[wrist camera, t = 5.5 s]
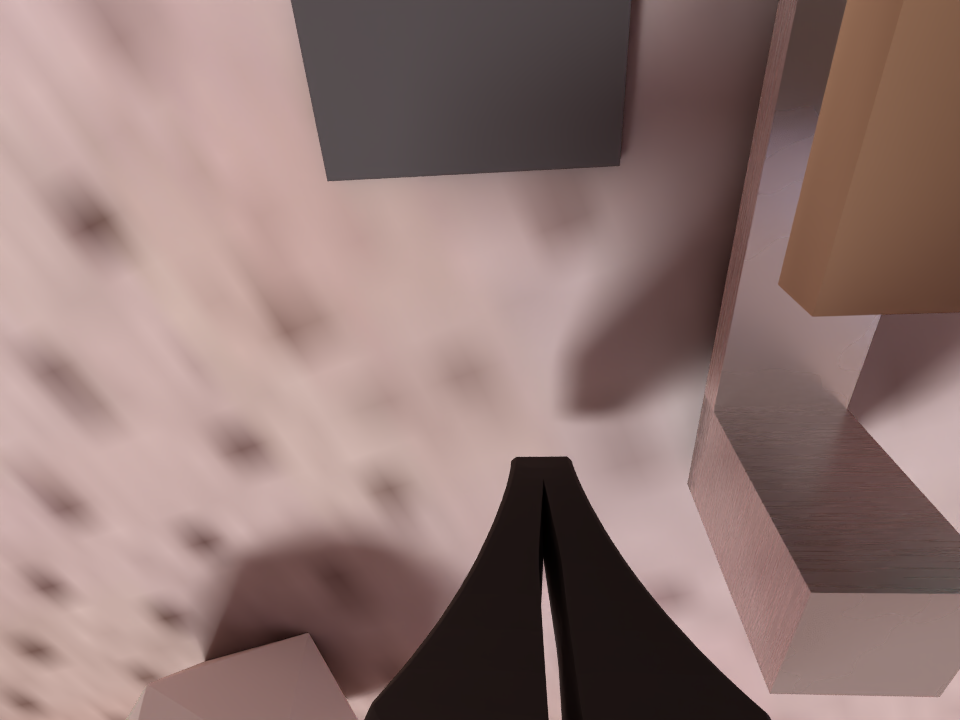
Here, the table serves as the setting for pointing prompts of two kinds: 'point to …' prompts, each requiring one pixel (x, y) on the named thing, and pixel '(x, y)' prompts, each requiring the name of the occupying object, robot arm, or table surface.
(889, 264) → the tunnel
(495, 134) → the dark grey plate
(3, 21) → the table surface
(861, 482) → the hook
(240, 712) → the die
